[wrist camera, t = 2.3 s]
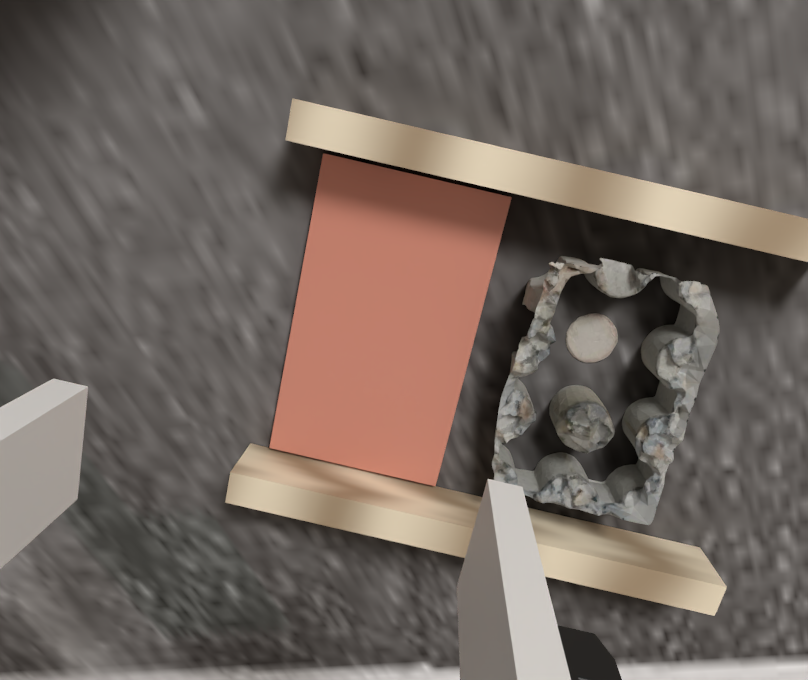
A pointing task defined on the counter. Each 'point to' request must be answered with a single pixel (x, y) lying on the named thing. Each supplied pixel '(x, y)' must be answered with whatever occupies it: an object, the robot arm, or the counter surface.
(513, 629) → the robot arm
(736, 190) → the counter surface
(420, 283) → the plate
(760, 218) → the channel
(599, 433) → the egg carton
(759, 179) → the counter surface
